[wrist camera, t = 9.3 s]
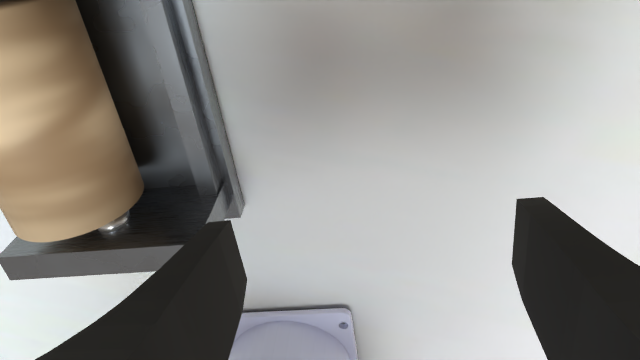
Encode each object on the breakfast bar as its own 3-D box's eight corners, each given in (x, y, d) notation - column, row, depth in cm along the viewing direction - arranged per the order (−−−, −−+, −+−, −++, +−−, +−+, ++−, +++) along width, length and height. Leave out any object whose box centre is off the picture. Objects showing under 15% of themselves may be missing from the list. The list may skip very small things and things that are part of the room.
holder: (244, 205, 25) (217, 283, 20) (75, 218, 26) (12, 294, 21) (159, -124, 17) (85, -125, 13) (-69, -85, 19) (-213, -73, 14)
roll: (169, 177, 22) (75, 252, 18) (84, 166, 24) (-16, 231, 20) (102, -18, 17) (-39, 23, 14) (8, -9, 20) (-137, 28, 16)
